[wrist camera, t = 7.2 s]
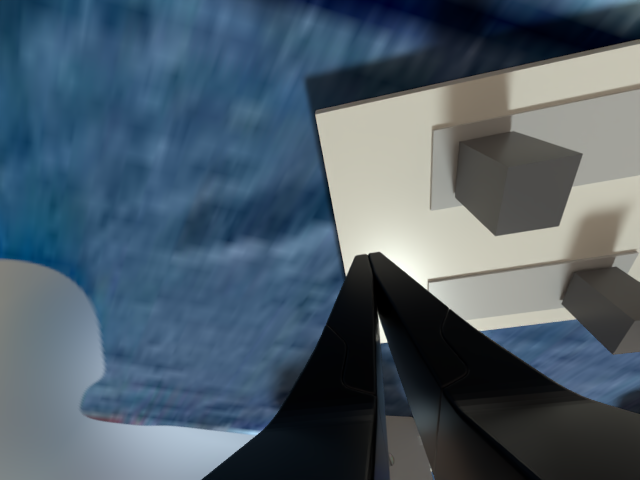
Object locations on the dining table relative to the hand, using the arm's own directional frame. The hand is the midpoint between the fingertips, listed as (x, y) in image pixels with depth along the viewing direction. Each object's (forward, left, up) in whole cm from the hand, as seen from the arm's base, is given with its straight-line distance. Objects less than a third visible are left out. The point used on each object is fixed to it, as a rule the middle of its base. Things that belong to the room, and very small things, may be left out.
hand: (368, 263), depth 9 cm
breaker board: (-11, +5, -8) cm, 15 cm away
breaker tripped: (-7, 0, -6) cm, 9 cm away
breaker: (-15, +10, -6) cm, 19 cm away
